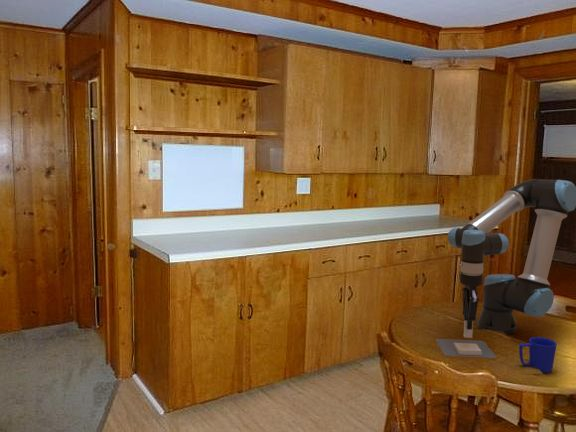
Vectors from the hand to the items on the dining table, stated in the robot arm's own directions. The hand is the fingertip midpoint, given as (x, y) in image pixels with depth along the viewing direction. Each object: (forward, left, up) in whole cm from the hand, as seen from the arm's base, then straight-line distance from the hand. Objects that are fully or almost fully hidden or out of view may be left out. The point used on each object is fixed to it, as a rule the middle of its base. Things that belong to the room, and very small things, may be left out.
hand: (467, 336), depth 175 cm
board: (0, -3, -7) cm, 8 cm away
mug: (-20, +10, -7) cm, 23 cm away
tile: (0, -3, -5) cm, 5 cm away
